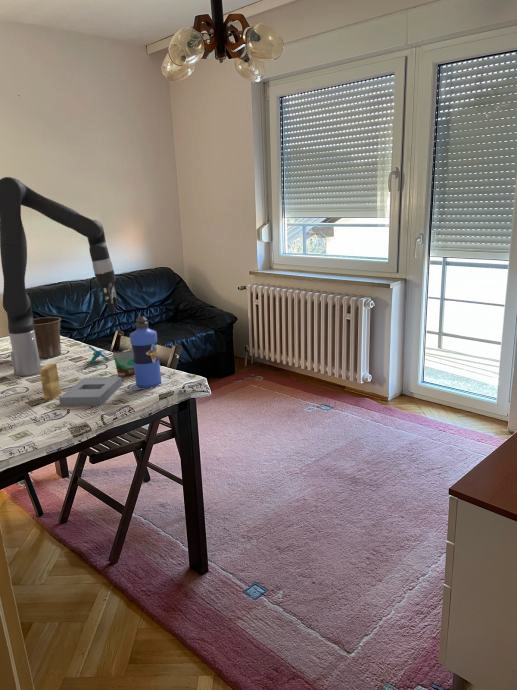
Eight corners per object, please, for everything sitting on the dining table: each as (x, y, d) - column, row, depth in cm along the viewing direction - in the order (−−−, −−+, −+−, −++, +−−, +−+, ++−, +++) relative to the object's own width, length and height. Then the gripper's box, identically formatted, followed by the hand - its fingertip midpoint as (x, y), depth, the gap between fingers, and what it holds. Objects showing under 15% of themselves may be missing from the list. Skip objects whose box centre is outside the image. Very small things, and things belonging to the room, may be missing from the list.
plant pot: (52, 348, 247) (47, 315, 243) (73, 352, 238) (68, 318, 234) (20, 358, 234) (14, 322, 230) (41, 362, 225) (35, 326, 221)
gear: (112, 359, 218) (91, 345, 214) (103, 370, 217) (82, 357, 213) (108, 356, 228) (88, 343, 224) (99, 367, 227) (80, 354, 223)
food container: (127, 380, 195) (123, 354, 193) (115, 378, 199) (112, 352, 196) (150, 370, 205) (147, 346, 203) (138, 368, 209) (135, 344, 206)
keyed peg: (44, 399, 180) (39, 369, 177) (53, 393, 185) (48, 364, 182) (53, 399, 179) (47, 369, 176) (61, 393, 185) (56, 363, 182)
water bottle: (130, 387, 187) (121, 319, 180) (145, 379, 195) (137, 313, 189) (152, 389, 184) (144, 320, 177) (166, 380, 192) (159, 314, 185)
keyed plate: (60, 406, 173) (58, 397, 172) (85, 385, 192) (84, 377, 191) (101, 405, 171) (99, 396, 171) (122, 384, 191) (121, 376, 190)
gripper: (97, 270, 215) (107, 308, 220) (91, 275, 201) (101, 315, 206) (115, 266, 215) (125, 304, 220) (110, 271, 202) (120, 312, 206)
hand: (113, 310), depth 213 cm, fingers open, 8 cm apart
